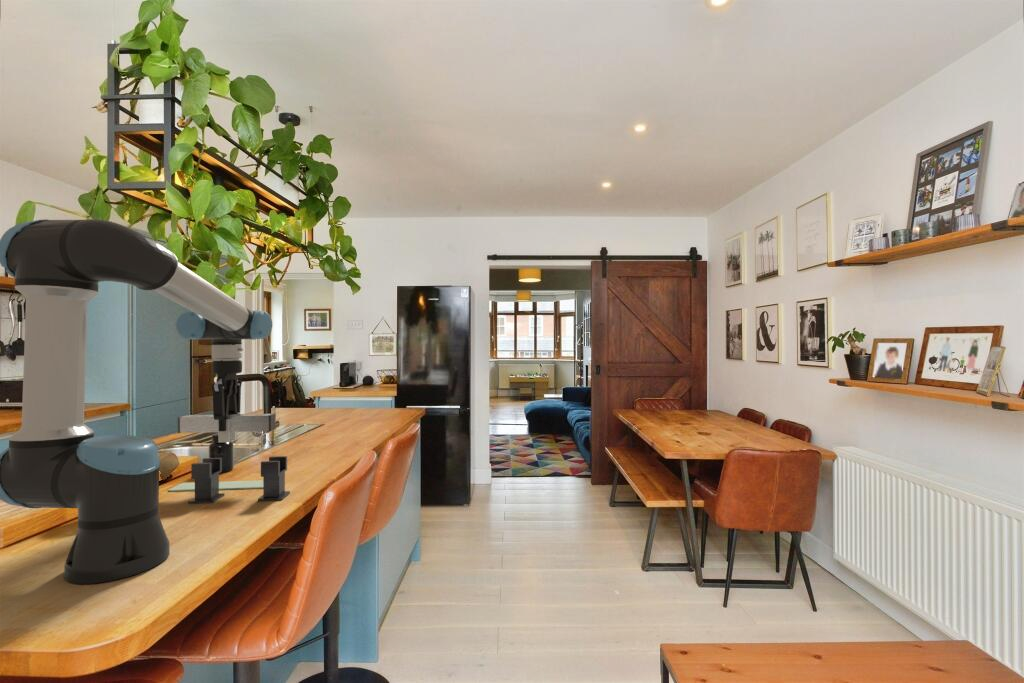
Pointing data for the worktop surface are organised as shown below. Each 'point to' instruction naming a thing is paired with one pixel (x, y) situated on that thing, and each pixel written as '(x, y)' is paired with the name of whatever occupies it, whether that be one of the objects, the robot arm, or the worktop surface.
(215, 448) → the supplement bottle
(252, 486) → the mat
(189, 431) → the rail
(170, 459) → the bread roll
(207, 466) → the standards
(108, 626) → the worktop surface
